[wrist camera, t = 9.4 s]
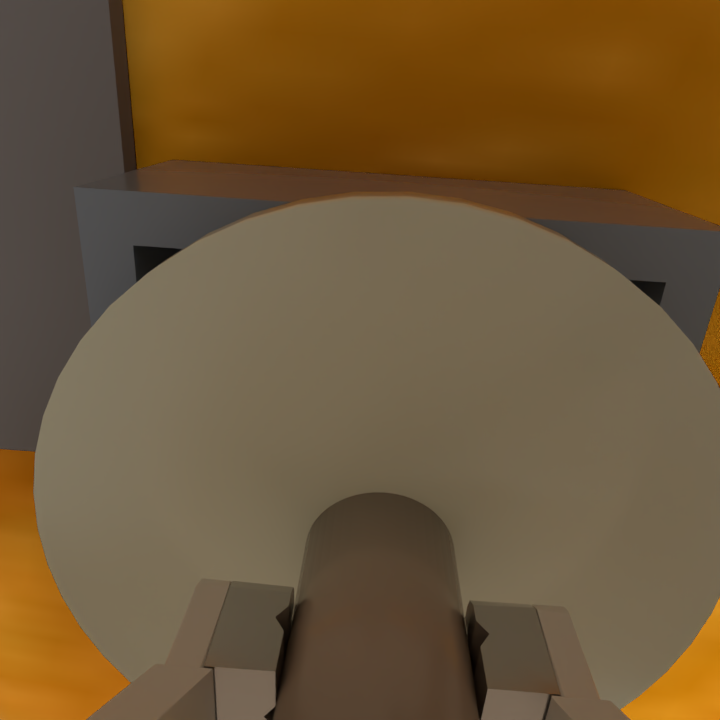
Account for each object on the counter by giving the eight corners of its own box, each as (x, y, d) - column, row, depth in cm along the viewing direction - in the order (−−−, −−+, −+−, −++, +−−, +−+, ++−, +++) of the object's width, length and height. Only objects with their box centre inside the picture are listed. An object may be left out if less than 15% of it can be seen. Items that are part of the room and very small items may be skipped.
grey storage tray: (172, 159, 16) (72, 187, 11) (624, 190, 16) (737, 232, 11) (195, 523, 21) (133, 659, 16) (542, 549, 21) (592, 694, 16)
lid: (6, 166, 10) (-393, 234, 5) (818, 217, 9) (1291, 345, 5) (101, 712, 15) (-42, 1017, 10) (627, 753, 15) (749, 1086, 10)
